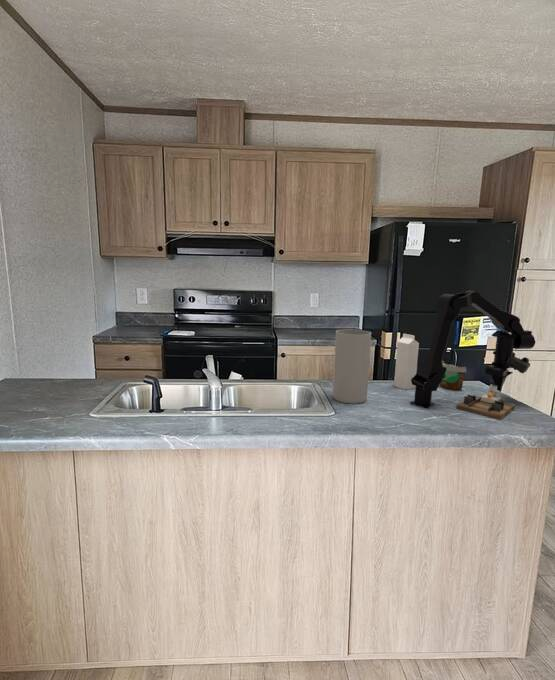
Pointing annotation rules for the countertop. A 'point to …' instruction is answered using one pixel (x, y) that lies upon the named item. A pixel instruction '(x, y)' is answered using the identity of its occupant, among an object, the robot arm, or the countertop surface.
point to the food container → (453, 377)
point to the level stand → (485, 407)
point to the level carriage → (491, 395)
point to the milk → (406, 361)
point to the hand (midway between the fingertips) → (498, 390)
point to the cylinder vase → (351, 365)
